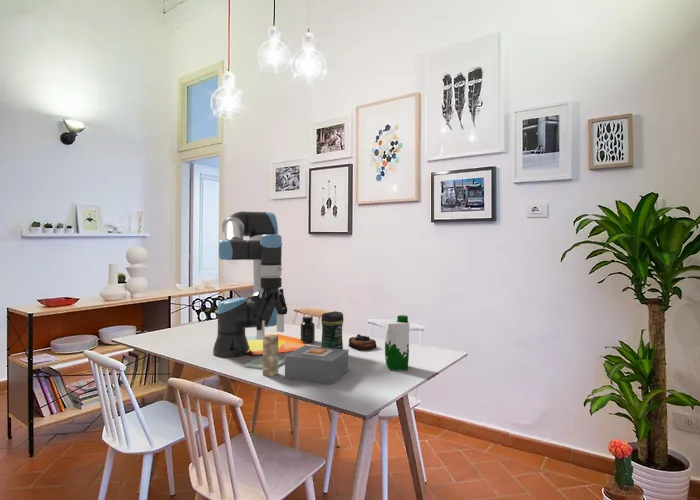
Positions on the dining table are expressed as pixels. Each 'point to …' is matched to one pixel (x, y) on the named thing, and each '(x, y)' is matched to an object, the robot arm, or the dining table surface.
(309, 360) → the grey socket block
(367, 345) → the pastry
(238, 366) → the dining table surface
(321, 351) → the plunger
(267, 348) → the peg
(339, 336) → the coffee jar
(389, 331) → the milk carton
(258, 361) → the mat
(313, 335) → the supplement bottle
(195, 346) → the dining table surface
